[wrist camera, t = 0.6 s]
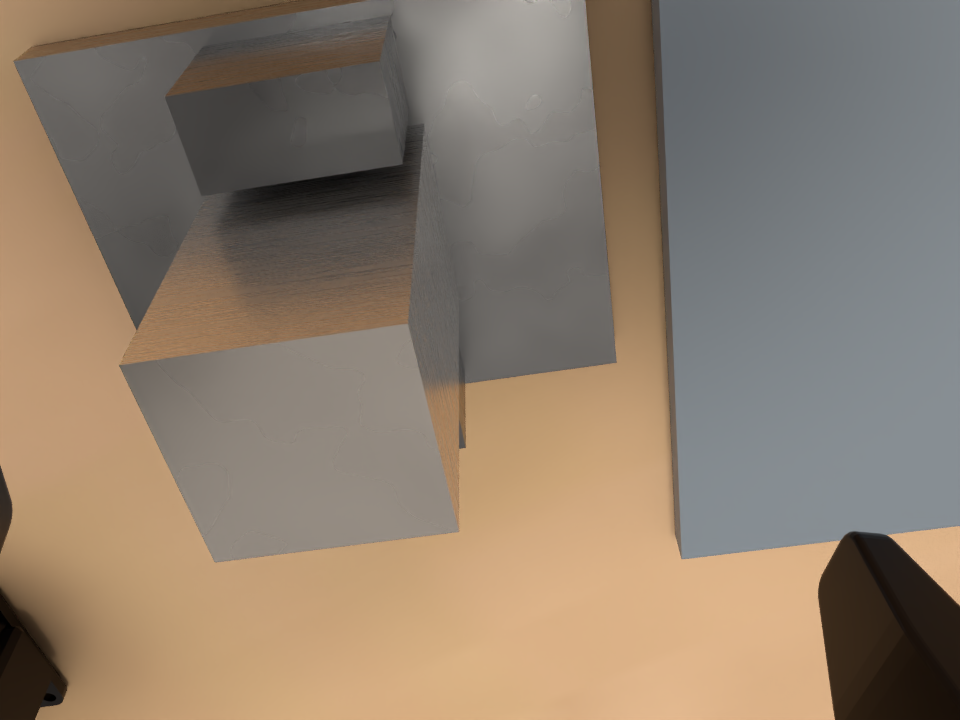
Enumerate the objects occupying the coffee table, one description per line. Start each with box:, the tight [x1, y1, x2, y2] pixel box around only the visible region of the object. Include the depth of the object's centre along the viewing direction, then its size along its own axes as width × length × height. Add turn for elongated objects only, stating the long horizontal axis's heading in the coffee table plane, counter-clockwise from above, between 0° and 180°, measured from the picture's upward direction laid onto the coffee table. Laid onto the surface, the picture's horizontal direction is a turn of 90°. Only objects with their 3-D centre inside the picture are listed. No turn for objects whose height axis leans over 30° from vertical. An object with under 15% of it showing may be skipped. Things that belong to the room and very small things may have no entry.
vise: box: [13, 0, 617, 449], centre depth 21 cm, size 12×10×4 cm
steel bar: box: [119, 124, 459, 562], centre depth 18 cm, size 4×4×8 cm
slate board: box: [651, 0, 960, 559], centre depth 22 cm, size 11×22×1 cm, turn 9°
